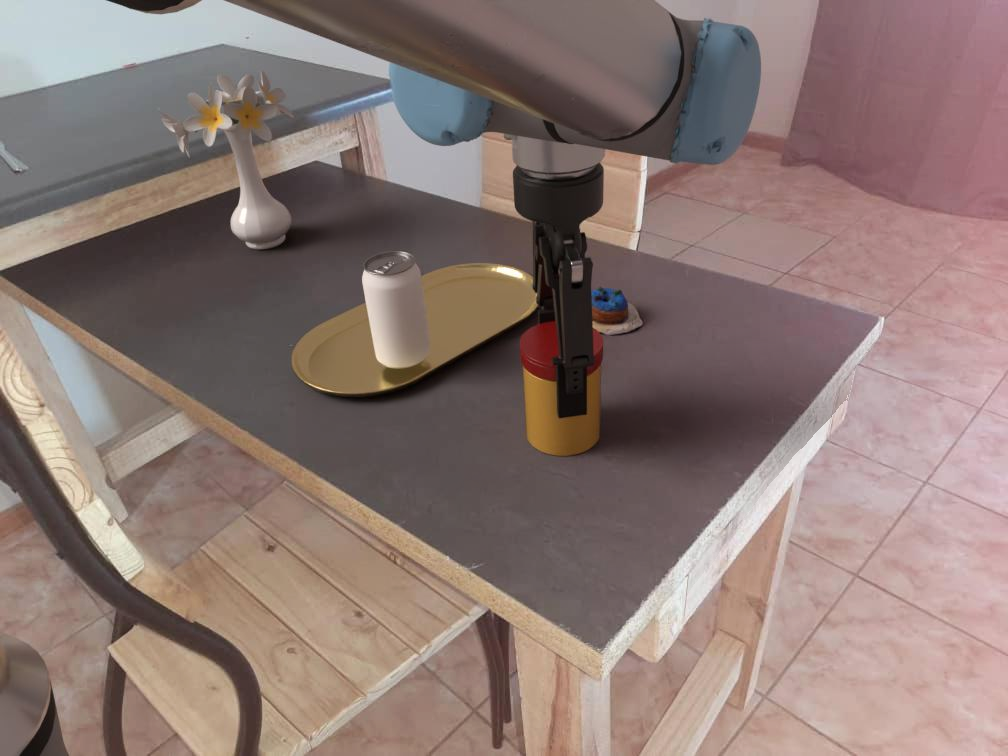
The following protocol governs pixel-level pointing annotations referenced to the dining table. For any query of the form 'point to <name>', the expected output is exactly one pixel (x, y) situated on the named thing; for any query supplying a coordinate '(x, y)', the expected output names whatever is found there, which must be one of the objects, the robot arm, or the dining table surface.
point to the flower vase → (241, 151)
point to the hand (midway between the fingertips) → (562, 387)
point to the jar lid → (550, 350)
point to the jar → (560, 432)
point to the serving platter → (451, 324)
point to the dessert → (613, 312)
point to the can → (396, 309)
